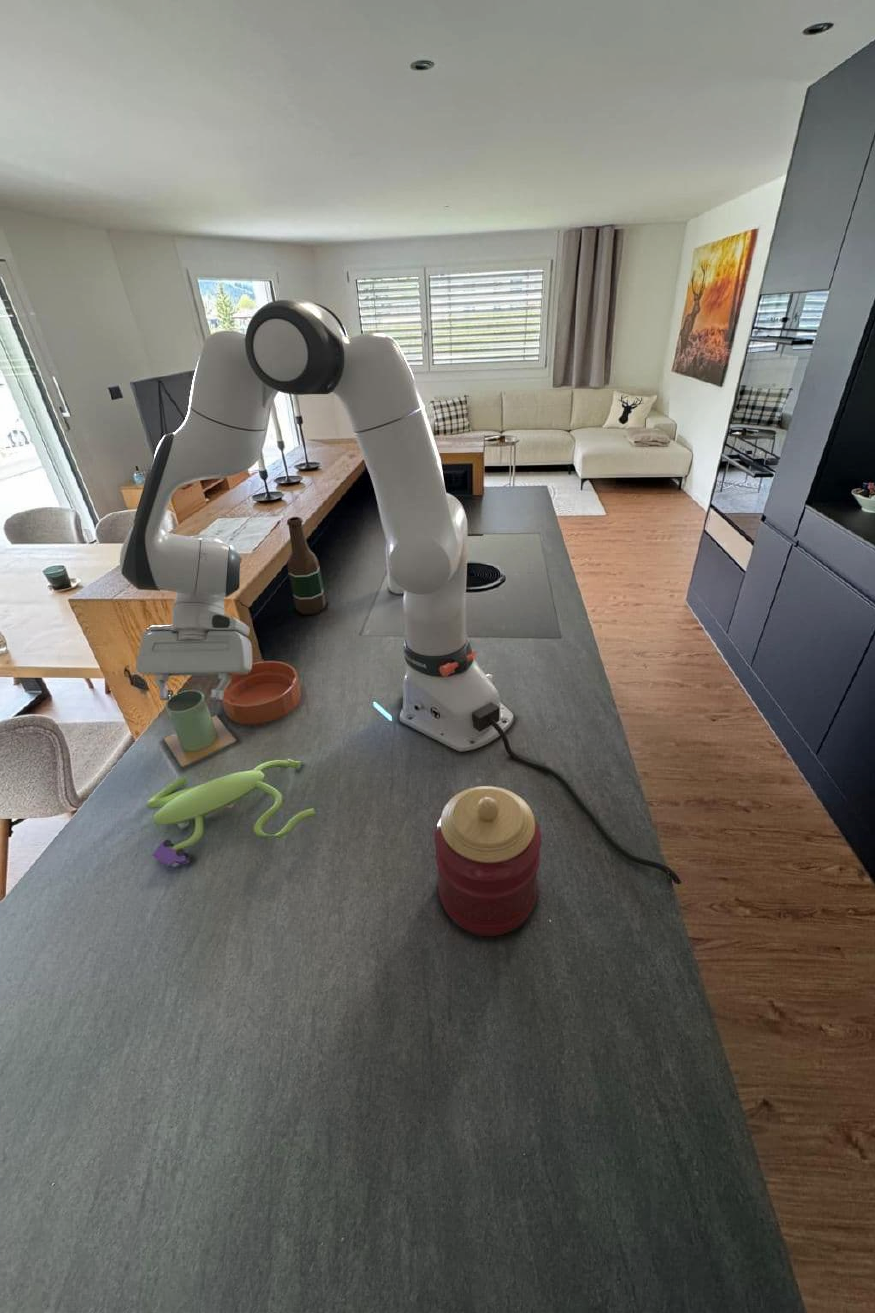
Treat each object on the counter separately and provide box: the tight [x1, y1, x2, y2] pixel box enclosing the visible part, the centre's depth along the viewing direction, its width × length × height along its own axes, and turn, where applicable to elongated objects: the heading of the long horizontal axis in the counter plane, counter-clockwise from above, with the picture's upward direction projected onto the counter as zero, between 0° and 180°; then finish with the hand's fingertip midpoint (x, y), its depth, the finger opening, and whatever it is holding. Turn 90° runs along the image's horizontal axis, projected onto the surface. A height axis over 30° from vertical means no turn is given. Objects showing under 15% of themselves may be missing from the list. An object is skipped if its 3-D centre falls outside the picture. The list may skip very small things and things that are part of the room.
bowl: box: [220, 660, 302, 726], centre depth 110 cm, size 15×15×5 cm
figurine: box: [146, 758, 316, 869], centre depth 85 cm, size 18×27×6 cm
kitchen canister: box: [434, 785, 542, 937], centre depth 69 cm, size 13×13×18 cm
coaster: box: [163, 714, 237, 768], centre depth 102 cm, size 10×10×1 cm
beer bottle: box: [286, 516, 326, 615], centre depth 138 cm, size 8×8×24 cm
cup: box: [164, 689, 217, 751], centre depth 99 cm, size 6×6×9 cm
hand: (191, 699), depth 99 cm, fingers open, 8 cm apart
